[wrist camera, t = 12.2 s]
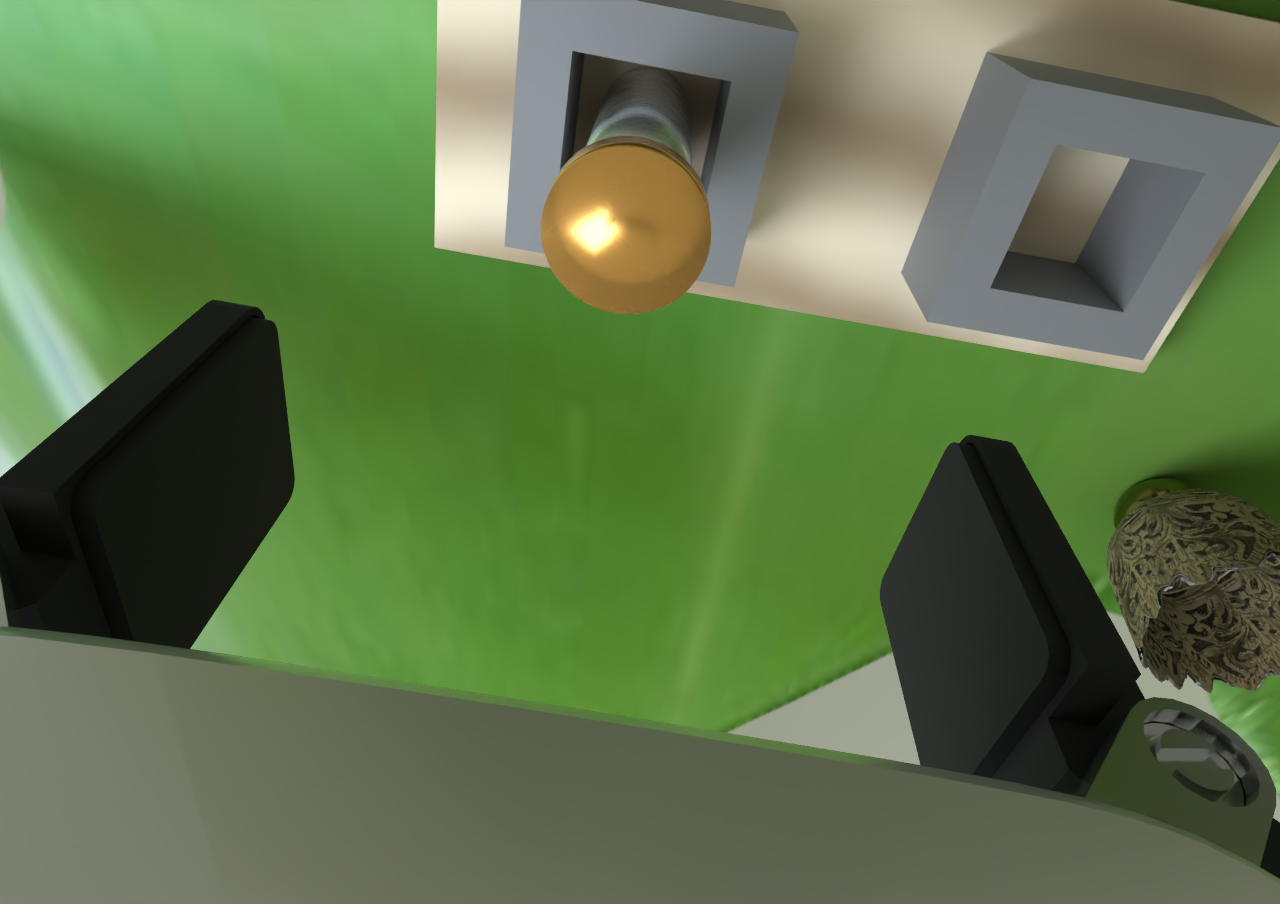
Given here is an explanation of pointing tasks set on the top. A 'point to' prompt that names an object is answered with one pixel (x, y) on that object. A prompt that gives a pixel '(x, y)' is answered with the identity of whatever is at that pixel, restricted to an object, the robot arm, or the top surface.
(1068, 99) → the lock mount
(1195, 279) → the dock board
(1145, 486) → the cup
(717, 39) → the dock socket
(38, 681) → the robot arm
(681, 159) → the pin
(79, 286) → the top surface
